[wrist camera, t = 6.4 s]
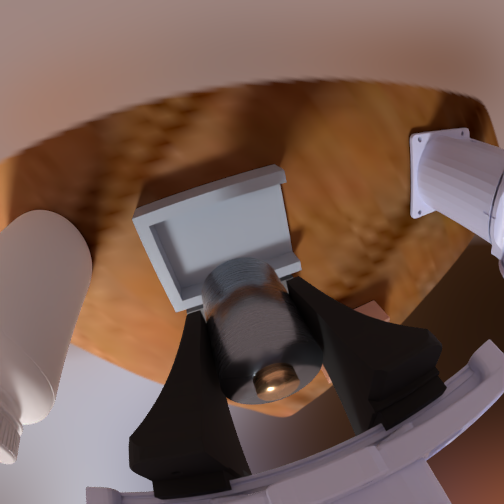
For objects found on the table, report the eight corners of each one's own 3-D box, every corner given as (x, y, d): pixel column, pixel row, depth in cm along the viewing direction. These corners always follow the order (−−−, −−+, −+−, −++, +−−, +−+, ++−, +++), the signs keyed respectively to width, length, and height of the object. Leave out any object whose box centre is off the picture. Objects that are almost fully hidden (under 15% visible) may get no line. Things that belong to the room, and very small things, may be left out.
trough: (274, 163, 18) (284, 170, 17) (292, 257, 22) (301, 270, 21) (136, 208, 17) (132, 219, 16) (175, 296, 21) (176, 312, 20)
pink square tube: (373, 300, 28) (389, 317, 25) (369, 341, 31) (382, 357, 29) (314, 325, 27) (327, 346, 24) (318, 364, 31) (329, 383, 28)
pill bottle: (-4, 215, 14) (-121, 356, 1) (82, 199, 16) (-38, 390, 3) (26, 302, 18) (-30, 457, 5) (105, 297, 20) (79, 489, 7)
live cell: (271, 246, 13) (329, 335, 8) (283, 306, 16) (329, 393, 11) (190, 272, 13) (207, 377, 8) (214, 329, 15) (238, 424, 10)
